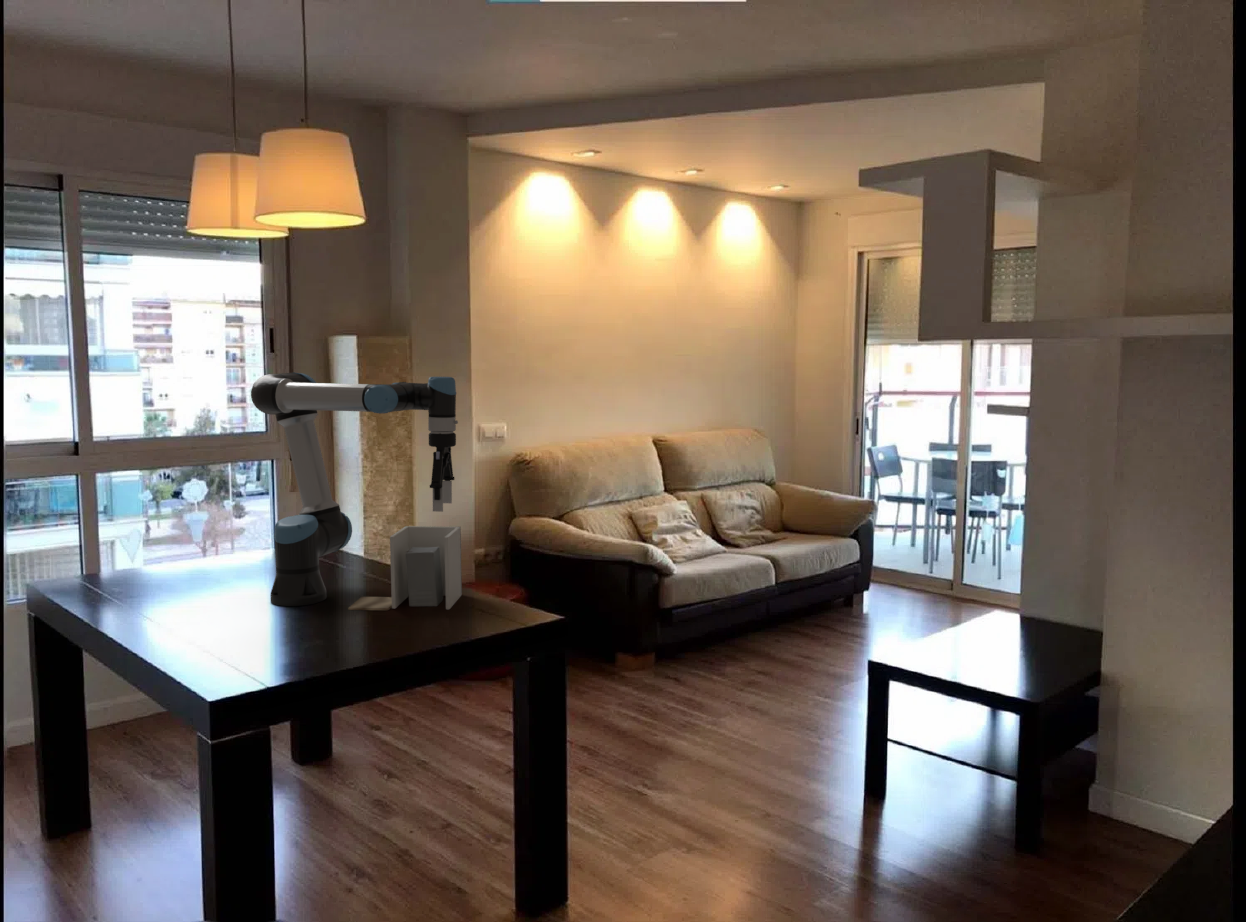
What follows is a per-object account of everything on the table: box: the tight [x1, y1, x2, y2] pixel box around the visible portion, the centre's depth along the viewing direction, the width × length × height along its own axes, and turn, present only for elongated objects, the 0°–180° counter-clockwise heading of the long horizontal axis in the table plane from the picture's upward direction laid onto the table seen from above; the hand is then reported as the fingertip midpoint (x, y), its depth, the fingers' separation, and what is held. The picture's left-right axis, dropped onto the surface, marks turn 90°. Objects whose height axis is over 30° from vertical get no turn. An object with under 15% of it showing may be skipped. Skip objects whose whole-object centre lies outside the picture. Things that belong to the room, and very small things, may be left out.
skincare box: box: [405, 547, 444, 607], centre depth 280 cm, size 8×7×16 cm
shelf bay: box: [389, 525, 463, 610], centre depth 282 cm, size 16×16×20 cm
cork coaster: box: [347, 596, 392, 611], centre depth 280 cm, size 11×12×1 cm
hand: (442, 507), depth 283 cm, fingers open, 13 cm apart
